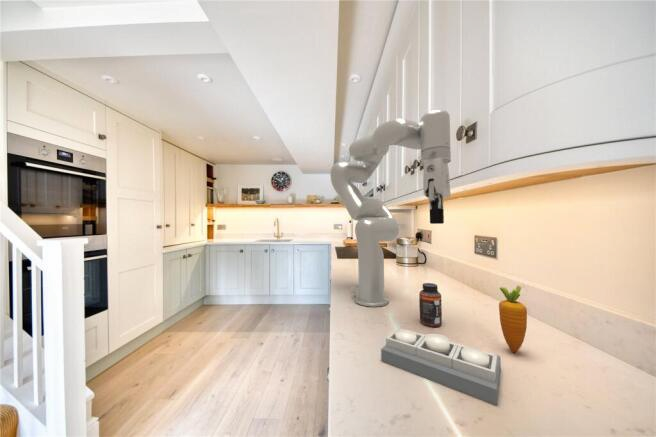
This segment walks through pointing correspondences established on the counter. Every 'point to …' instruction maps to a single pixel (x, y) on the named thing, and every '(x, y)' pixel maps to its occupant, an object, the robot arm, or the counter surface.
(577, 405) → the counter surface
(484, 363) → the button right
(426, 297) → the supplement bottle
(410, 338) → the button left
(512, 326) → the carrot
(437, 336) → the button middle
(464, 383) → the panel
